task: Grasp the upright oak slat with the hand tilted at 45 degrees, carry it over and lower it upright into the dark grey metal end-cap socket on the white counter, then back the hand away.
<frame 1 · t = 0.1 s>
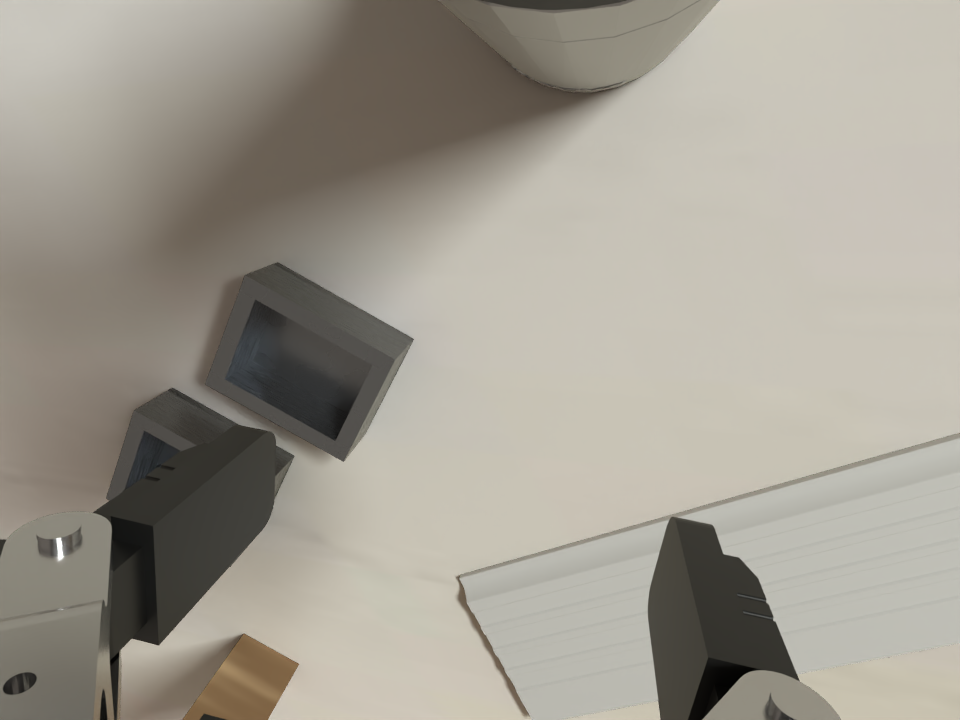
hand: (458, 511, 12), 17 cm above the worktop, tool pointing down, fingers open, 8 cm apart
slat: (264, 661, 39), on the worktop
baseboard: (765, 559, 31), on the worktop
endcap a: (216, 463, 35), on the worktop
endcap b: (323, 351, 31), on the worktop
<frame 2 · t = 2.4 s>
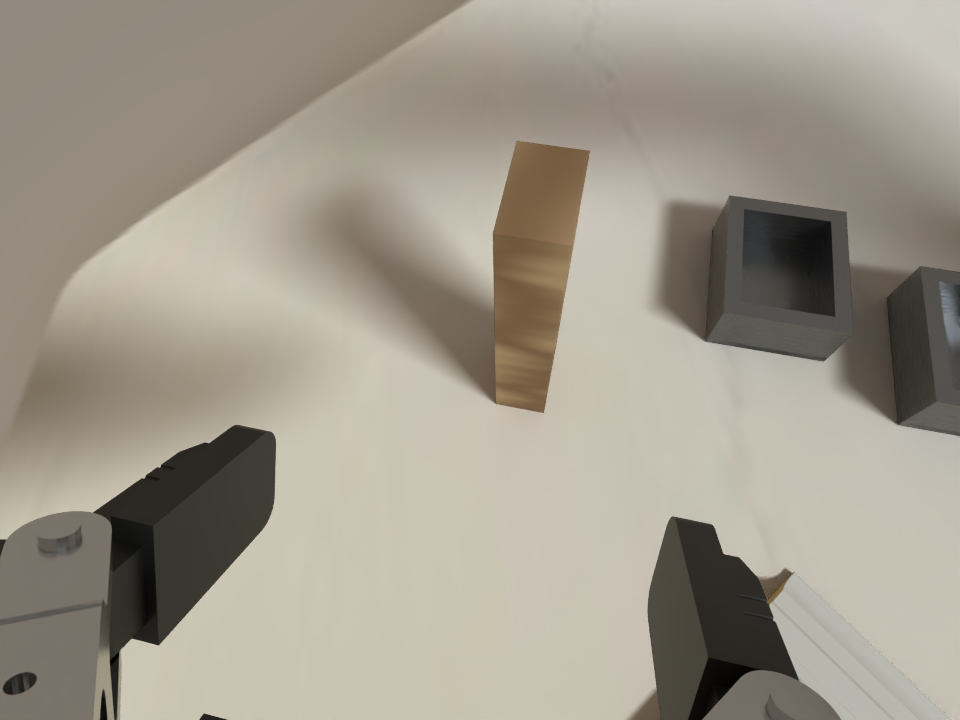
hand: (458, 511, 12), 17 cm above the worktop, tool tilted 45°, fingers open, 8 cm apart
slat: (526, 373, 32), on the worktop
endcap a: (764, 292, 34), on the worktop
endcap b: (954, 368, 32), on the worktop
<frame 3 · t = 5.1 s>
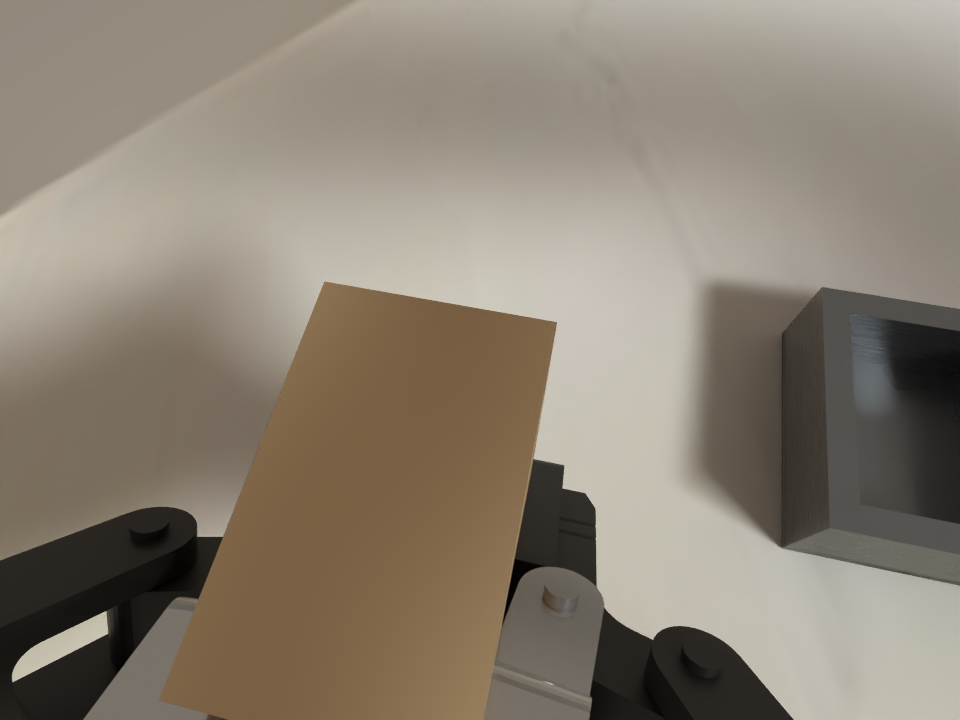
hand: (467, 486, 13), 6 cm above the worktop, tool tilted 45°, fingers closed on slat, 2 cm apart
slat: (462, 612, 18), on the worktop, touching gripper
endcap a: (879, 450, 20), on the worktop
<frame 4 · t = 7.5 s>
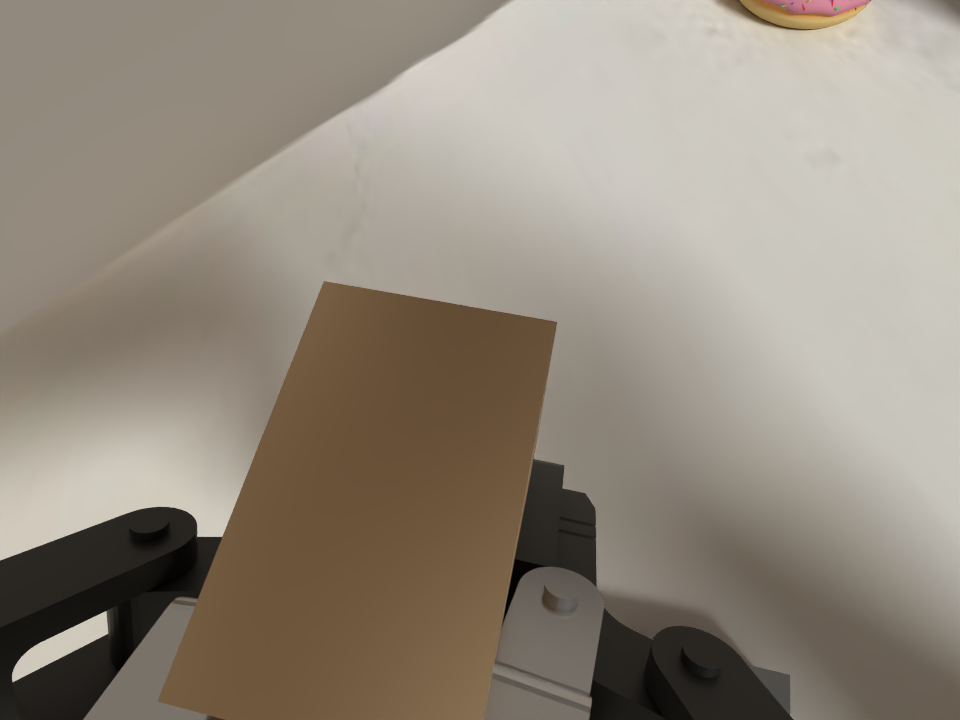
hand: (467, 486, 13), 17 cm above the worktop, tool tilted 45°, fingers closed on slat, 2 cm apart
slat: (462, 612, 18), point 11 cm above the worktop, touching gripper
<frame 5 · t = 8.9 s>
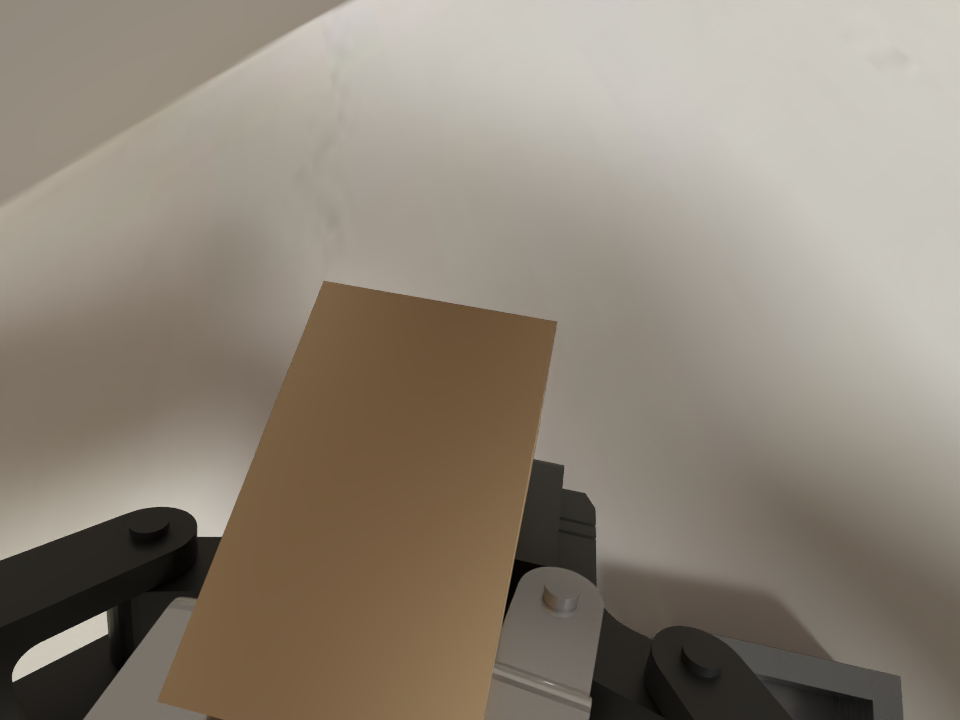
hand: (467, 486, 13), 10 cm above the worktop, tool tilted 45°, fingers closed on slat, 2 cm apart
slat: (462, 612, 18), point 4 cm above the worktop, touching gripper
when the fingers open (8 cm above the worktop, at t = 9.8 s): slat drops 1 cm, resting on endcap a.
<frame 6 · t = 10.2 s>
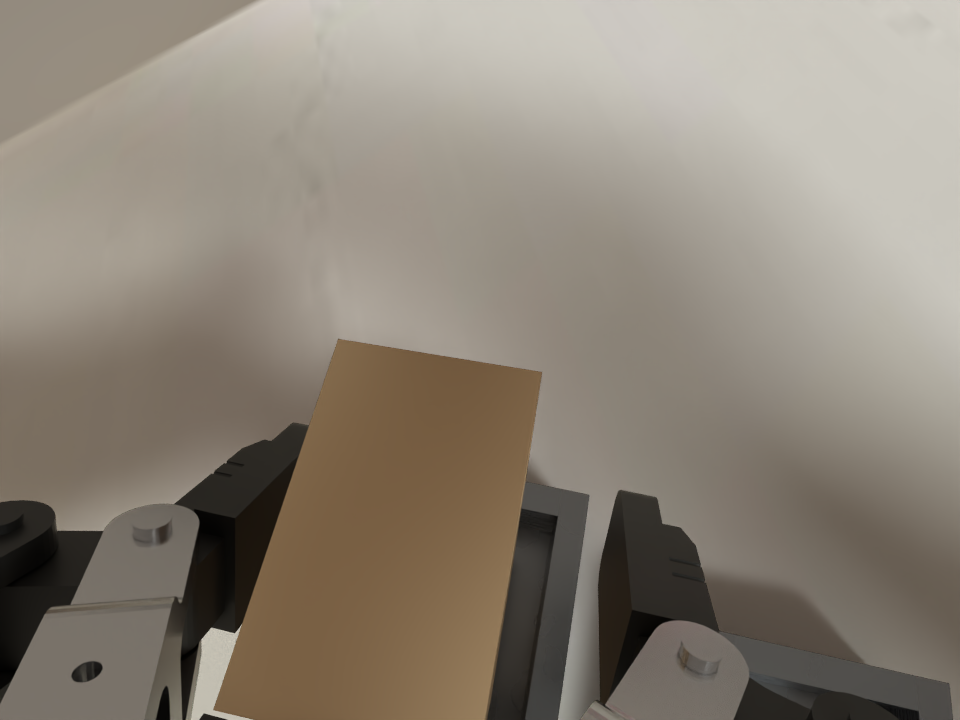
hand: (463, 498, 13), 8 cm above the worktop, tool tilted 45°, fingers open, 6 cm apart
slat: (462, 617, 19), resting on endcap a
endcap a: (464, 615, 19), on the worktop
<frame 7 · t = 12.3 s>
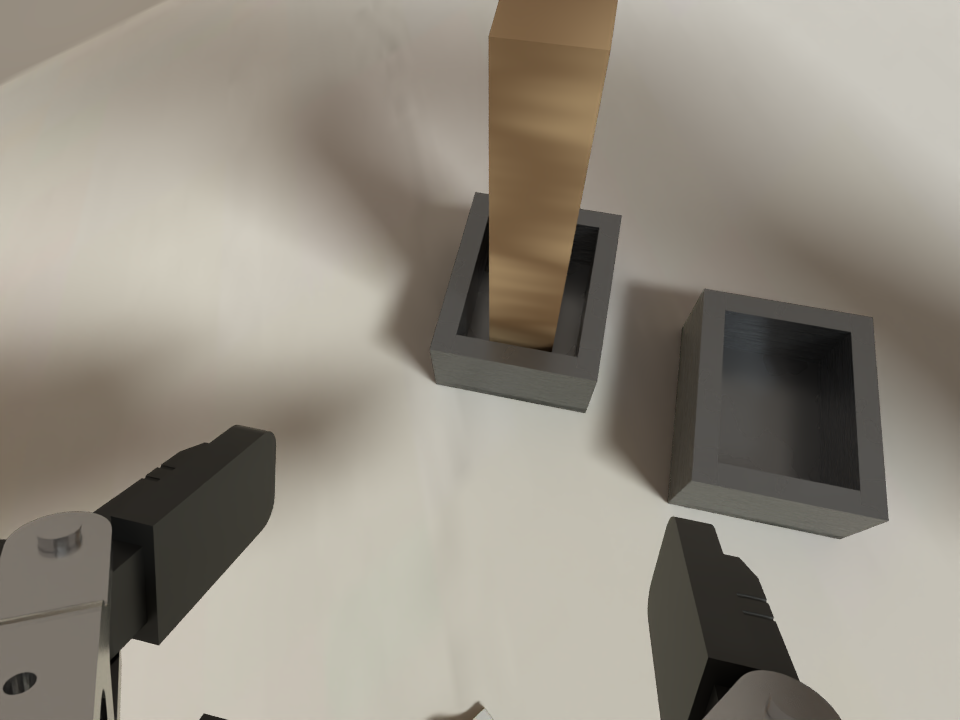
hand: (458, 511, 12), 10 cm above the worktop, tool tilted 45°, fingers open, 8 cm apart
slat: (527, 315, 26), resting on endcap a
endcap a: (526, 318, 26), on the worktop
endcap b: (754, 424, 24), on the worktop
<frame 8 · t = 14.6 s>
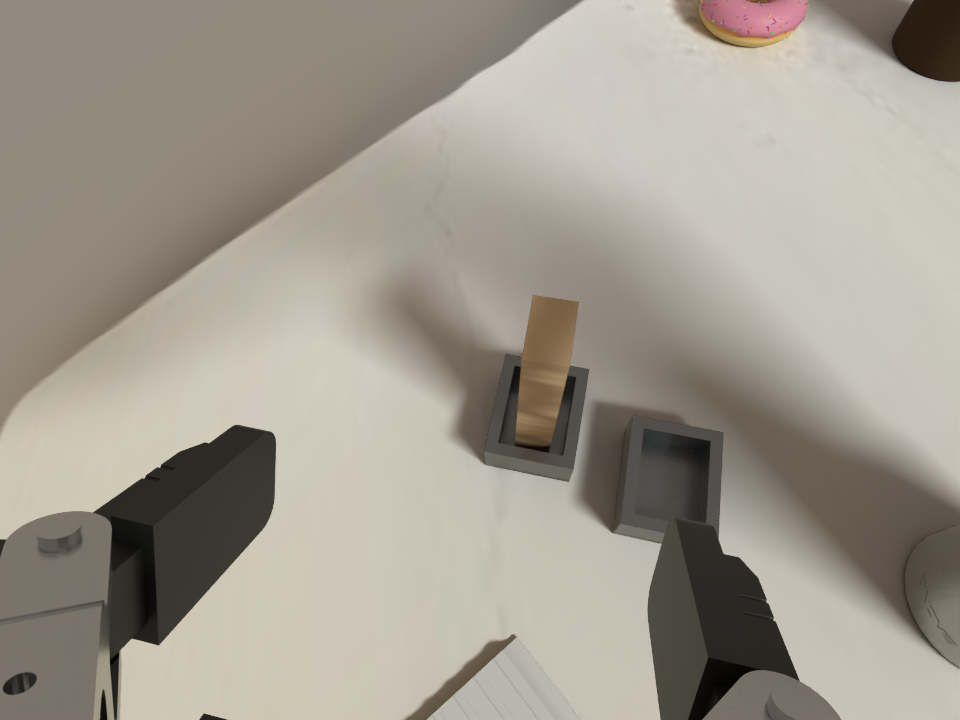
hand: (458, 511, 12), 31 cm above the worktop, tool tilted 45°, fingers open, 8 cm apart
slat: (535, 423, 45), resting on endcap a
olive oil: (938, 52, 63), on the worktop
endcap a: (535, 424, 45), on the worktop
doughnut: (744, 23, 66), on the worktop
endcap b: (662, 488, 43), on the worktop
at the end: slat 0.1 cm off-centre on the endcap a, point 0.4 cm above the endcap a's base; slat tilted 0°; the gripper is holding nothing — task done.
